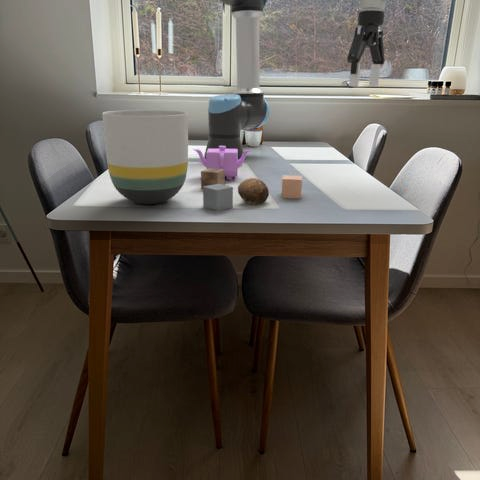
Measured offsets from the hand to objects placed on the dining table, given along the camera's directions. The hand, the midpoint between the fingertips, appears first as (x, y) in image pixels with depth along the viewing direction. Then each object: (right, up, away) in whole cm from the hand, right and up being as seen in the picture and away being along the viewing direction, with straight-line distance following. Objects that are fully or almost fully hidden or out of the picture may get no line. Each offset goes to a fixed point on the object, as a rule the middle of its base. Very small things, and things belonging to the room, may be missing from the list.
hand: (363, 85), depth 145 cm
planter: (-61, -39, -31) cm, 79 cm away
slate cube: (-44, -41, -34) cm, 69 cm away
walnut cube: (-47, -34, -15) cm, 60 cm away
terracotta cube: (-25, -37, -23) cm, 50 cm away
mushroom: (-36, -39, -30) cm, 61 cm away
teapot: (-45, -29, -1) cm, 53 cm away
